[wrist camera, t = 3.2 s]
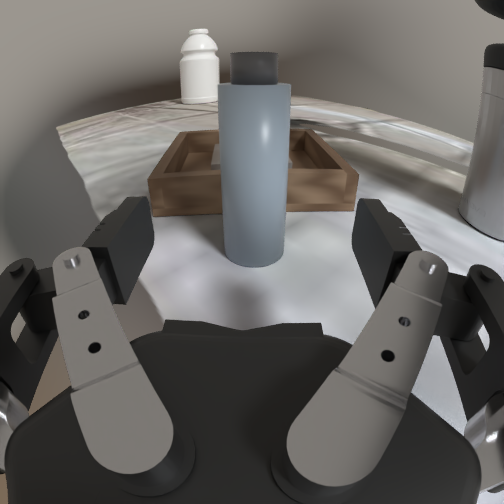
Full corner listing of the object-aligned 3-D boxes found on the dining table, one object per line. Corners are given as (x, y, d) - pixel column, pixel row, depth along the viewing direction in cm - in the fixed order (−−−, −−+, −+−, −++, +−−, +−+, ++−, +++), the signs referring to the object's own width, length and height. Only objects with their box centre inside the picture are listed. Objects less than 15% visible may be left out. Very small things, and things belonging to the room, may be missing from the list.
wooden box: (310, 153, 45) (311, 129, 42) (353, 211, 29) (359, 174, 27) (181, 156, 44) (180, 132, 41) (153, 217, 28) (147, 179, 26)
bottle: (196, 99, 110) (193, 33, 94) (226, 99, 105) (225, 29, 89) (173, 104, 99) (170, 31, 83) (206, 104, 94) (204, 26, 78)
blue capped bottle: (279, 233, 25) (285, 55, 17) (287, 266, 22) (298, 52, 14) (225, 235, 25) (218, 55, 17) (224, 268, 22) (214, 52, 14)
